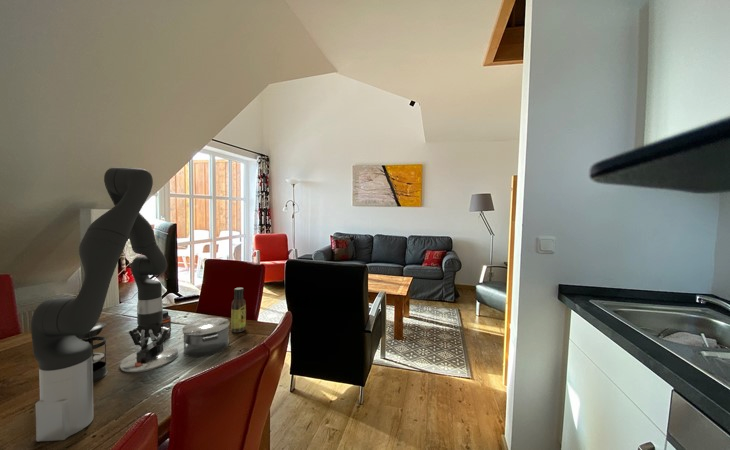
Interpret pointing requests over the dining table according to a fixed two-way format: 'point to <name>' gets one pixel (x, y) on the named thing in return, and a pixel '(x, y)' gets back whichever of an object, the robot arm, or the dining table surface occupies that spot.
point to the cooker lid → (148, 359)
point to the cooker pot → (206, 337)
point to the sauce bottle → (238, 311)
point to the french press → (98, 365)
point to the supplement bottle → (166, 322)
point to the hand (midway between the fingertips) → (150, 355)
